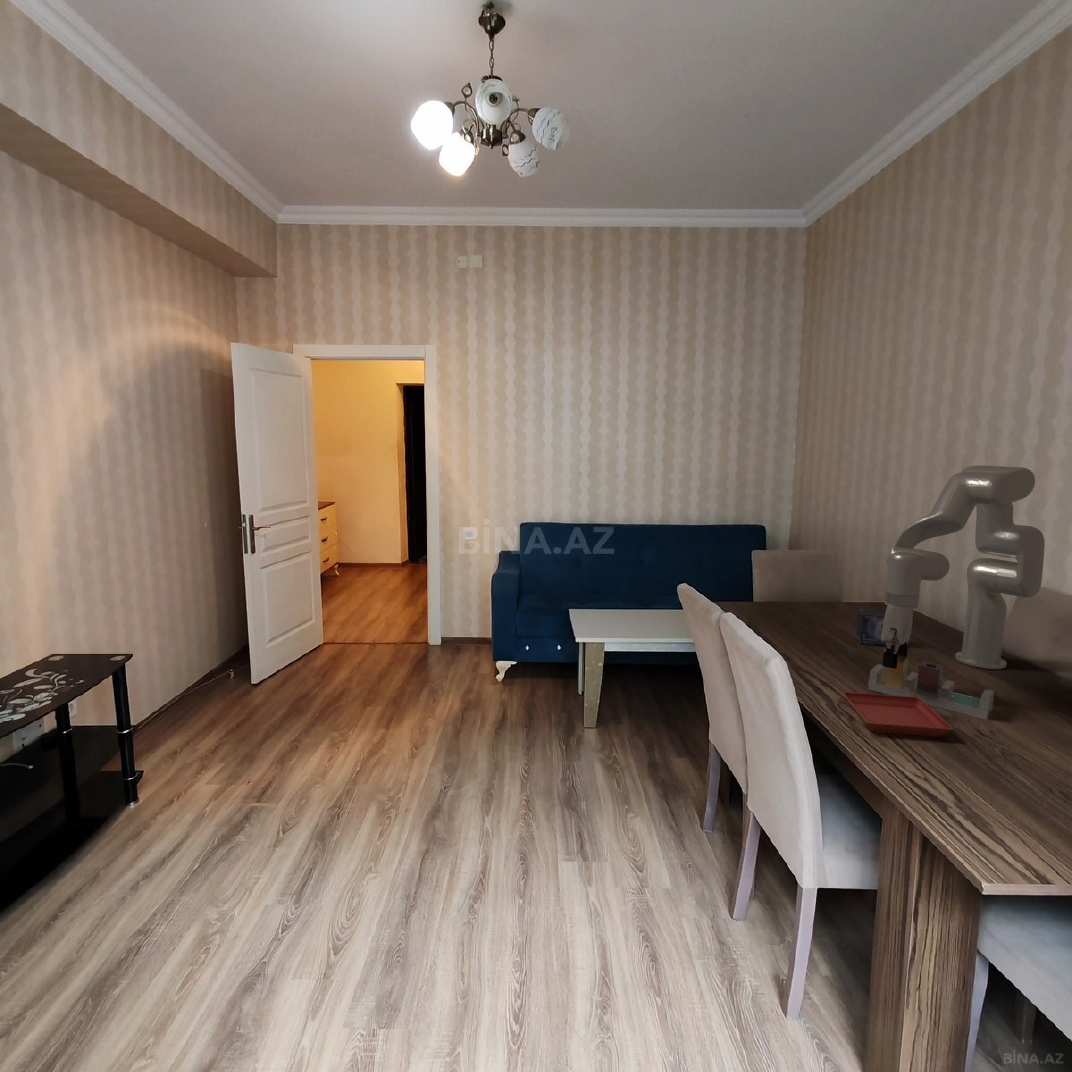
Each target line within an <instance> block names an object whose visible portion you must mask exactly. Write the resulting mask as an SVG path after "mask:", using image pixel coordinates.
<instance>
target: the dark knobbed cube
mask: <svg viewBox="0 0 1072 1072" xmlns="http://www.w3.org/2000/svg"><path fill="white" fill-rule="evenodd" d="M943 673H944V664H938V663H934V662H929V661H926V660H925V661H924V660H923V661H922V662H921V663H920V664H919V665H918V680H917V689H916V692H920V693H924V694H928V695H932V696H938V694H939V693H940V692H941V688H942V683H943Z"/></svg>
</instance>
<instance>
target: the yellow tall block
mask: <svg viewBox="0 0 1072 1072" xmlns="http://www.w3.org/2000/svg"><path fill="white" fill-rule="evenodd" d="M908 661H909V657H908V656H907V657H902V656H898V661H897V668H896V669H893V668H888V667H884V666H883V677H882V683H884V684H888V685H892V686H896V687H900V688H901V687H902V686H903V685H904V684H905V679H906V678H907V672H908Z"/></svg>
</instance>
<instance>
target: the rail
mask: <svg viewBox="0 0 1072 1072" xmlns="http://www.w3.org/2000/svg"><path fill="white" fill-rule="evenodd" d="M882 677H883V665H882V664H880V663H878V664H876V665H875V666H874V667H872V668H871V669H870V670H869V680H868V682H867V683H868V686H867V690H870V691H874V692H877V693H878V692H879V693H882V694H884V695H894V696H908V697H918V698H920V699H921V700H923V701H924V702H925V703H926V704H927V705H928V706H931V707H932V706H933V707H935V708H940V709H943V710H949V711H952V712H956V713H961V714H963V715H967V716H972V717H975V718H979V719H982V720H988V718H989V716H990V714H991V713H992V711H993V704H994V697H995V690H992V689H988V688H985V689H984V691H983V692H982V694H981V695H980V698H979V697H976V696H971V695H967V694H964V693H963V694H962V693H959V692H954V689H955V681H954V680H950V679H949V680H948V679H947V680H946V681H945V683H944V684H943V685H942V686H941V692H940V693H939V694H938V696H932V695H928V694H924V693H920V692H916V689H917V680H918V673H917V672H914V671H911V672H910V674H908V675H907V676H906V679H905V684H904V685H903V686H902V687H901V688H900V687H896V686H892V685H888V684H884V683H882Z"/></svg>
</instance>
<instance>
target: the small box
mask: <svg viewBox="0 0 1072 1072" xmlns="http://www.w3.org/2000/svg"><path fill="white" fill-rule="evenodd" d="M885 613H886V610H874V609H873V610H872V609H860V608H859V609H858V611H857V619H856V621H857V622H856V628H855V629H856V631H855V638H854V639H855V640H856V641H857V642H858V644H859V645H861V646H871V647H872V646H874V647H883V648H885V644H886V641H885V642H882V641H881V636H882V630H883V624H884V618H885Z"/></svg>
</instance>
